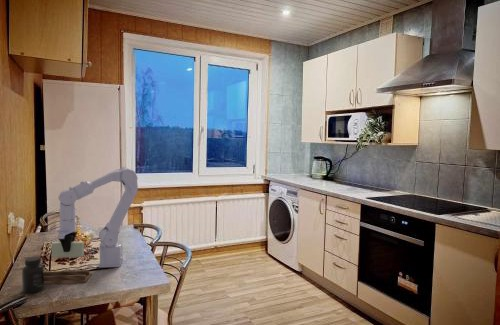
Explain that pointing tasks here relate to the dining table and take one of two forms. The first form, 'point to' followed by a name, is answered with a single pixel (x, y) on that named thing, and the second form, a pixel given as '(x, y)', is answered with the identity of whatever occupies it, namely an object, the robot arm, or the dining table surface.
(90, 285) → the dining table surface
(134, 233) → the dining table surface
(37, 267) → the supplement bottle
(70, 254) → the door panel
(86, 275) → the brown flat wooden board
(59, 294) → the dining table surface
